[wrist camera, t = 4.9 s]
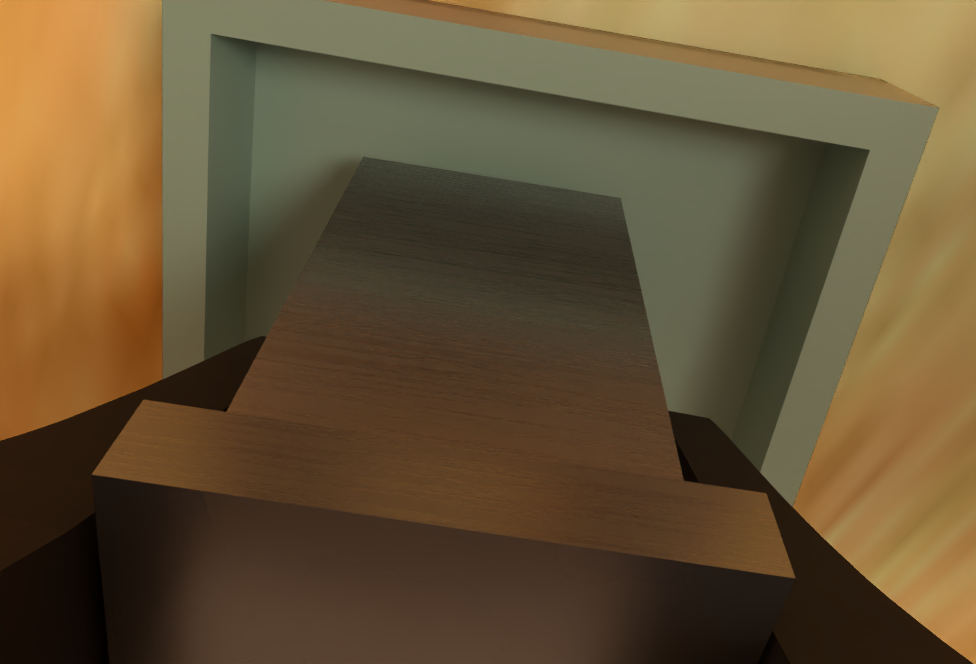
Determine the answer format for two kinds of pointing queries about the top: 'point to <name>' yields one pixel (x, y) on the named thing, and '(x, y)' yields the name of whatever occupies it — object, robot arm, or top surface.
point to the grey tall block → (438, 461)
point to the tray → (546, 179)
